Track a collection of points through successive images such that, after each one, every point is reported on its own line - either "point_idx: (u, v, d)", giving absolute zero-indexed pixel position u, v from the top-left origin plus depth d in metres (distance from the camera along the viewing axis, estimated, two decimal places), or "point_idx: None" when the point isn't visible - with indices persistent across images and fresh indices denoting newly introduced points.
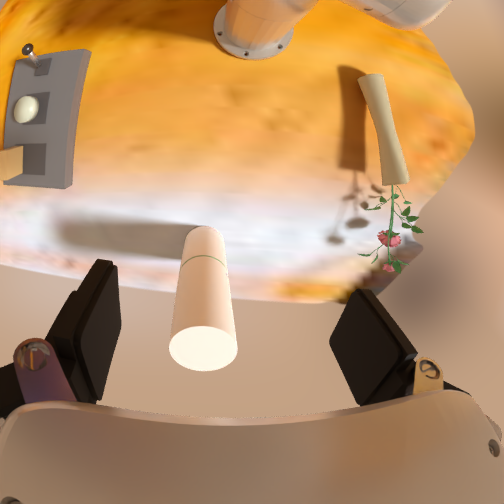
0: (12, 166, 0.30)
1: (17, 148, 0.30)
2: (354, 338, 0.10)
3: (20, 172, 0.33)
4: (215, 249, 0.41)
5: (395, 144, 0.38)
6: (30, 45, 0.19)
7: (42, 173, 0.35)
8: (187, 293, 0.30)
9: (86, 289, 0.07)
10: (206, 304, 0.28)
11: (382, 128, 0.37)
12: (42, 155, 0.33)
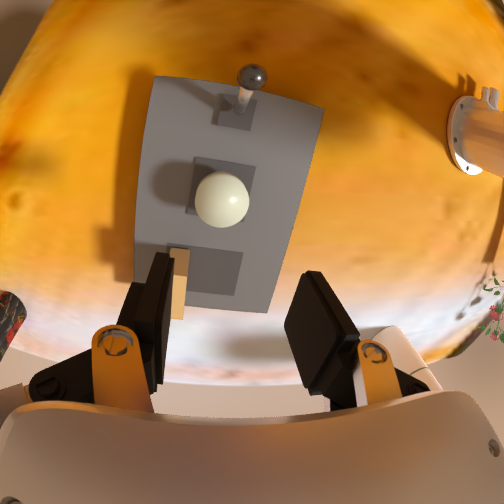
0: None
1: (188, 260, 0.26)
2: (302, 320, 0.10)
3: None
4: (419, 355, 0.37)
5: None
6: (265, 73, 0.15)
7: (227, 293, 0.31)
8: None
9: (155, 278, 0.08)
10: None
11: None
12: (232, 269, 0.30)
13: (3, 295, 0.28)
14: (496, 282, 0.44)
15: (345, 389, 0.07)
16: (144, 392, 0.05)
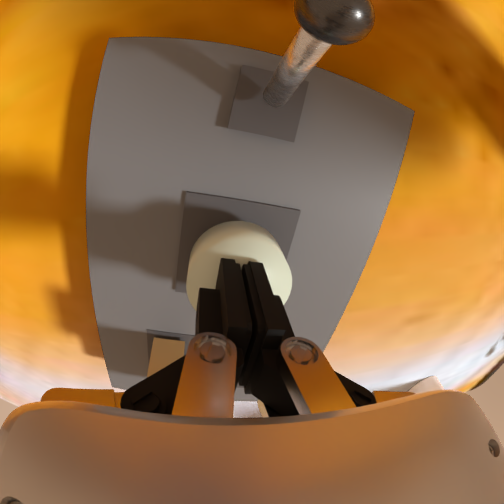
0: None
1: None
2: None
3: None
4: None
5: None
6: None
7: None
8: None
9: (232, 284, 0.09)
10: None
11: None
12: None
13: None
14: None
15: (279, 395, 0.07)
16: (229, 403, 0.05)
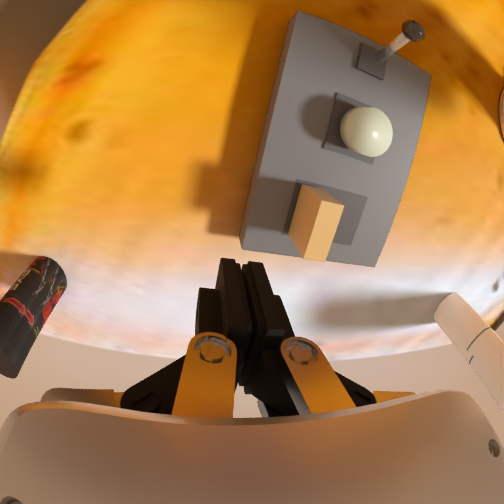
0: None
1: None
2: None
3: None
4: None
5: None
6: None
7: (345, 242, 0.28)
8: None
9: (232, 284, 0.09)
10: None
11: None
12: (355, 214, 0.27)
13: (37, 260, 0.26)
14: None
15: (279, 395, 0.07)
16: (229, 403, 0.05)
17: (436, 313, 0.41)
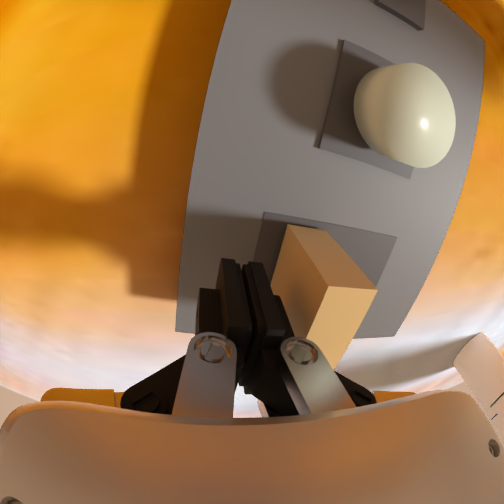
0: None
1: None
2: None
3: None
4: None
5: None
6: None
7: None
8: None
9: (232, 284, 0.09)
10: None
11: None
12: (373, 267, 0.15)
13: None
14: None
15: (279, 395, 0.07)
16: (229, 403, 0.05)
17: (457, 359, 0.29)
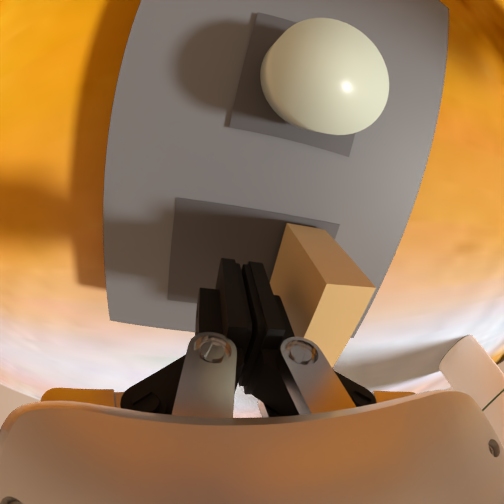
0: None
1: None
2: None
3: None
4: (500, 370, 0.21)
5: None
6: None
7: None
8: None
9: (232, 284, 0.09)
10: None
11: None
12: None
13: None
14: None
15: (279, 395, 0.07)
16: (229, 403, 0.05)
17: (443, 363, 0.29)
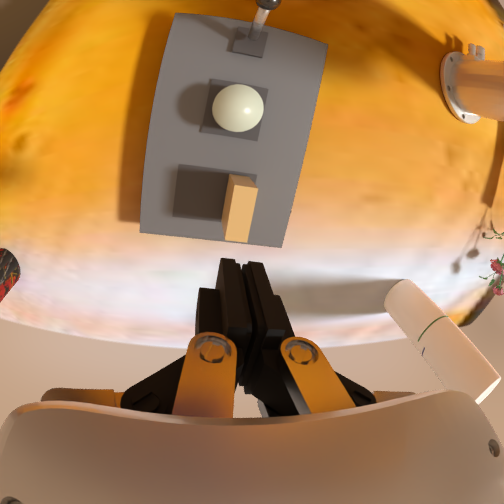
0: None
1: None
2: None
3: None
4: (437, 306, 0.35)
5: None
6: None
7: None
8: (466, 357, 0.25)
9: (232, 284, 0.09)
10: (485, 362, 0.23)
11: None
12: None
13: None
14: (496, 232, 0.41)
15: (279, 395, 0.07)
16: (229, 403, 0.05)
17: (385, 302, 0.43)
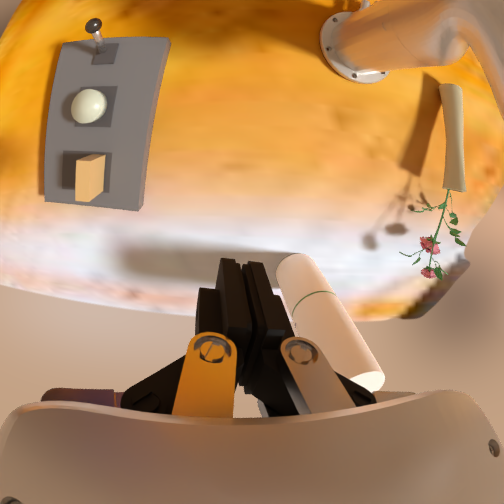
0: (94, 182, 0.29)
1: (100, 158, 0.29)
2: None
3: (101, 190, 0.32)
4: (325, 281, 0.39)
5: (462, 153, 0.33)
6: (99, 20, 0.17)
7: (104, 190, 0.33)
8: (331, 338, 0.28)
9: (232, 284, 0.09)
10: (358, 348, 0.26)
11: (454, 134, 0.33)
12: (106, 167, 0.31)
13: None
14: (429, 206, 0.43)
15: (279, 395, 0.07)
16: (229, 403, 0.05)
17: (276, 276, 0.46)
